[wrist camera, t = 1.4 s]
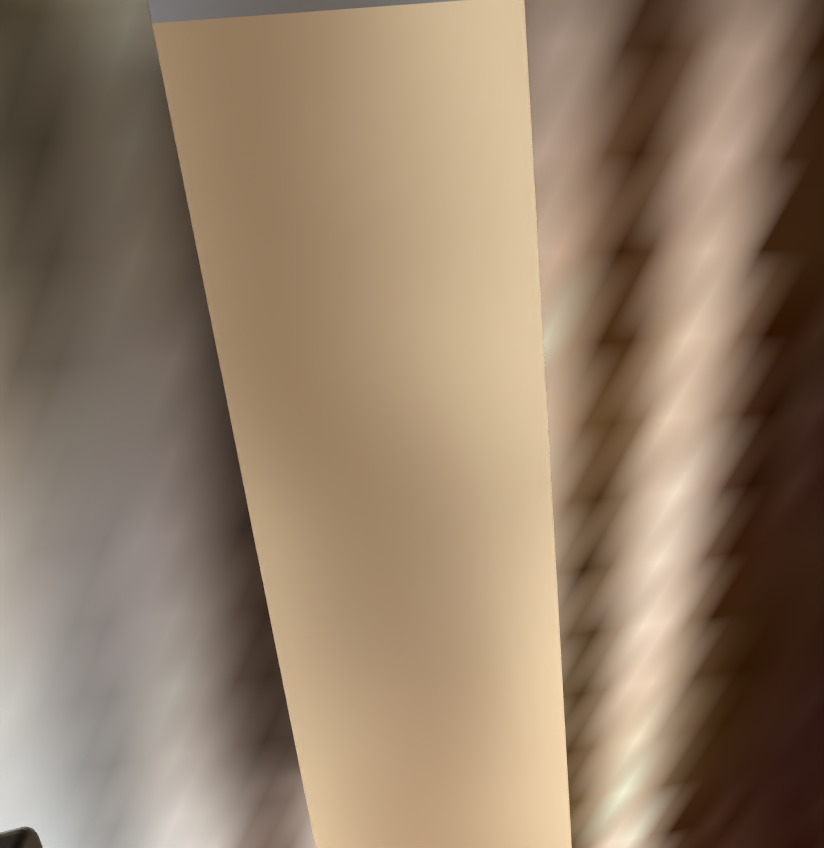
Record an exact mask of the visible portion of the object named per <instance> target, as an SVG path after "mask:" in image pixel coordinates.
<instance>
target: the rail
mask: <svg viewBox="0 0 824 848" xmlns="http://www.w3.org/2000/svg"><path fill="white" fill-rule="evenodd" d="M147 1H148V7H149V12H150V17H151V22H152V27H153V32H154V37H155V42H156V47H157V52H158V57H159V62H160V67H161V72H162V77H163V82H164V87H165V92H166V97H167V102H168V107H169V112H170V117H171V122H172V127H173V132H174V137H175V142H176V147H177V152H178V158H179V163H180V168H181V173H182V178H183V183H184V188H185V193H186V198H187V203H188V208H189V213H190V218H191V223H192V228H193V233H194V238H195V243H196V248H197V253H198V258H199V263H200V268H201V273H202V278H203V283H204V288H205V293H206V298H207V304H208V309H209V314H210V319H211V324H212V329H213V334H214V339H215V344H216V349H217V354H218V359H219V364H220V369H221V374H222V379H223V384H224V389H225V394H226V399H227V404H228V409H229V414H230V419H231V424H232V429H233V434H234V439H235V444H236V449H237V455H238V460H239V465H240V470H241V475H242V480H243V485H244V490H245V495H246V500H247V505H248V510H249V515H250V520H251V525H252V530H253V535H254V540H255V545H256V550H257V555H258V560H259V565H260V570H261V575H262V580H263V585H264V590H265V595H266V600H267V606H268V611H269V616H270V621H271V626H272V631H273V636H274V641H275V646H276V651H277V656H278V661H279V666H280V671H281V676H282V681H283V686H284V691H285V696H286V701H287V706H288V711H289V716H290V721H291V726H292V731H293V736H294V741H295V746H296V751H297V757H298V762H299V767H300V772H301V777H302V782H303V787H304V792H305V797H306V802H307V807H308V812H309V817H310V822H311V827H312V832H313V837H314V842H315V847H316V848H572V846H571V828H570V810H569V792H568V774H567V756H566V738H565V721H564V703H563V685H562V667H561V649H560V631H559V613H558V595H557V577H556V559H555V541H554V523H553V505H552V488H551V470H550V452H549V434H548V416H547V398H546V380H545V362H544V344H543V326H542V308H541V290H540V273H539V255H538V237H537V219H536V201H535V183H534V165H533V147H532V129H531V111H530V93H529V75H528V58H527V40H526V22H525V4H524V0H147Z"/></svg>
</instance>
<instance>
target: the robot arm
mask: <svg viewBox="0 0 824 848" xmlns="http://www.w3.org/2000/svg"><path fill="white" fill-rule="evenodd" d="M0 848H43V847H42V845H41V842H40V839H39V837H38V835H37V833H36V832H35V831H34V829H32V828H30V827H20V828H17V829H13V830H9V831H5V832H1V833H0Z"/></svg>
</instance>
